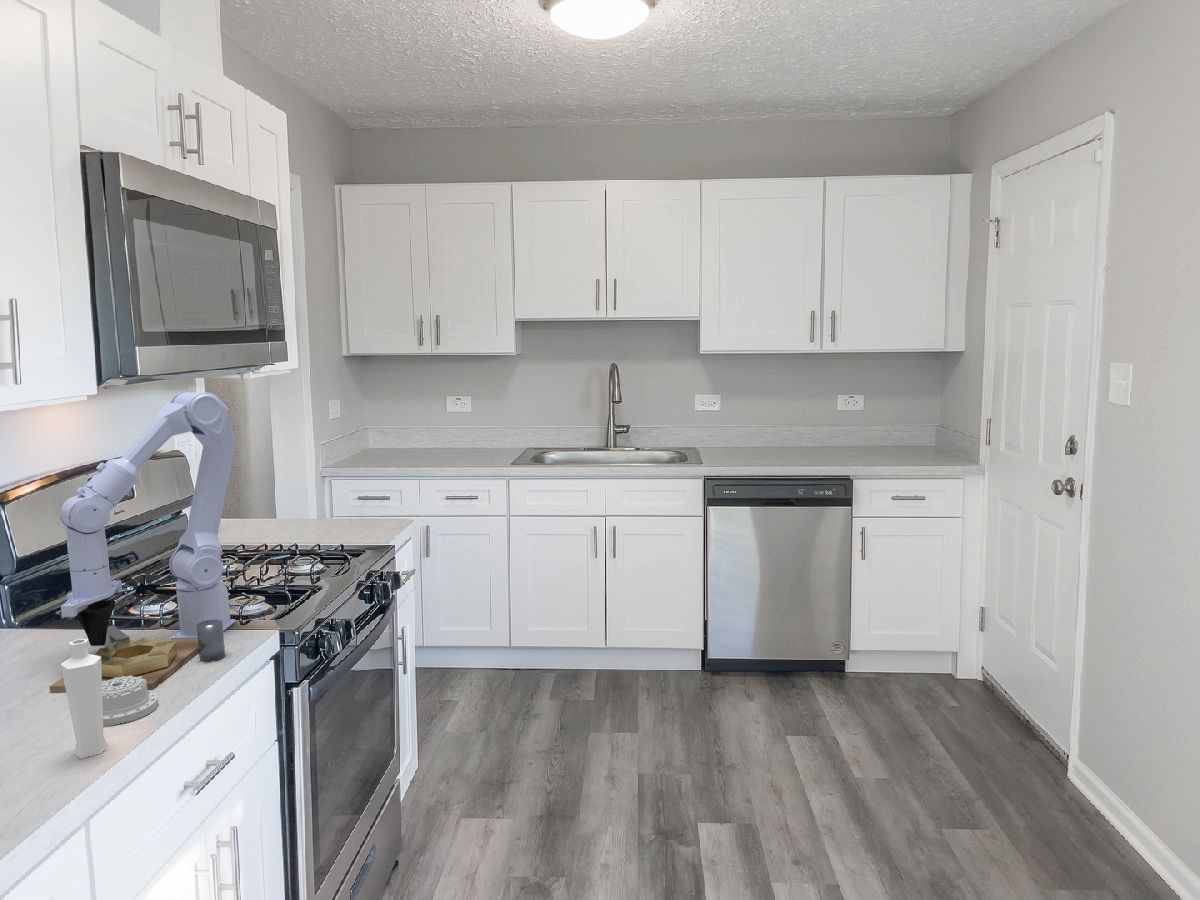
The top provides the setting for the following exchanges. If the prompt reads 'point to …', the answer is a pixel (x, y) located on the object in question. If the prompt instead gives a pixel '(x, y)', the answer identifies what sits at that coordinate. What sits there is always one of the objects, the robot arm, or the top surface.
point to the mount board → (156, 677)
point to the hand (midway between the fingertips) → (98, 645)
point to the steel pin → (210, 640)
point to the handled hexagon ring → (133, 654)
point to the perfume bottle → (85, 698)
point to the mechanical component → (126, 700)
